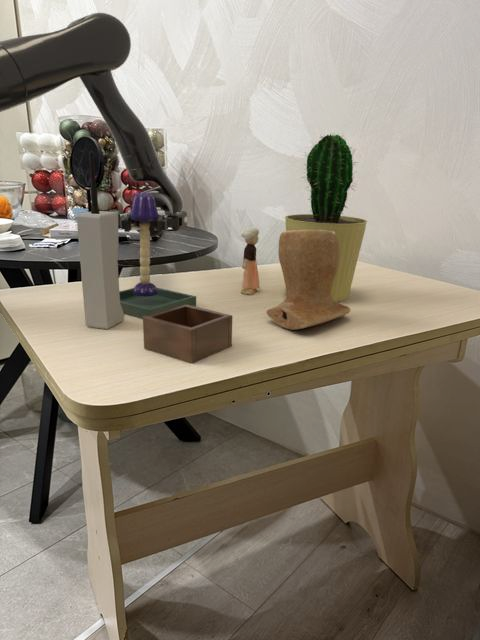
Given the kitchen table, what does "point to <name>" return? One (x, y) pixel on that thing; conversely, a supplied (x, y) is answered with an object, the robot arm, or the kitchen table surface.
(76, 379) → the kitchen table surface
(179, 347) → the brown wooden box
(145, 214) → the toy lamp
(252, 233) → the grandmother figurine
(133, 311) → the tray
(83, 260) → the utensil holder
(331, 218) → the potted cactus
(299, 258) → the brown flared block
